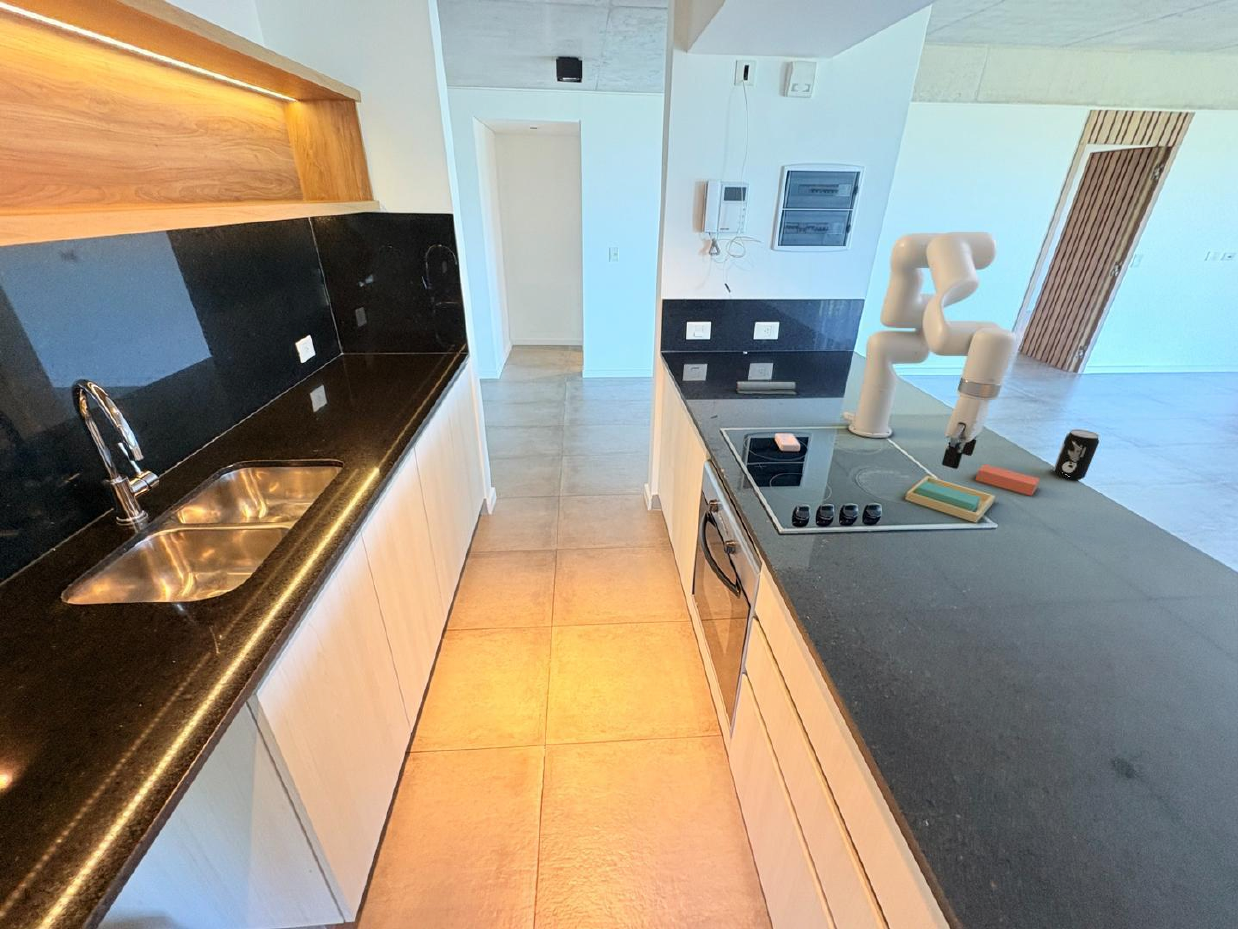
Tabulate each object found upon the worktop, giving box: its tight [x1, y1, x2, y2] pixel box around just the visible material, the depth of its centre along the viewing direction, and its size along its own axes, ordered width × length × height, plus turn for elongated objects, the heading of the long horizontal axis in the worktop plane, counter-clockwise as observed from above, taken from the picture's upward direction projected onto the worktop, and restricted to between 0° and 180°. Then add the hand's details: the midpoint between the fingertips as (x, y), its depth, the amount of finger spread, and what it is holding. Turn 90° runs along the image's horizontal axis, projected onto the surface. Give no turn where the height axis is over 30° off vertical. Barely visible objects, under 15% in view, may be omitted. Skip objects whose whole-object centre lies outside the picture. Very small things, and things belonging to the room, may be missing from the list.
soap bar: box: [774, 432, 801, 452], centre depth 157 cm, size 5×9×2 cm, turn 177°
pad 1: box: [916, 481, 981, 512], centre depth 124 cm, size 12×5×3 cm, turn 44°
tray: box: [904, 475, 996, 524], centre depth 126 cm, size 15×13×2 cm
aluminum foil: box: [735, 381, 797, 395], centre depth 207 cm, size 23×7×3 cm, turn 88°
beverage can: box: [1052, 428, 1100, 481], centre depth 136 cm, size 7×7×12 cm
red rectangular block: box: [975, 464, 1040, 497], centre depth 134 cm, size 12×5×3 cm, turn 43°
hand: (956, 460), depth 120 cm, fingers open, 9 cm apart
